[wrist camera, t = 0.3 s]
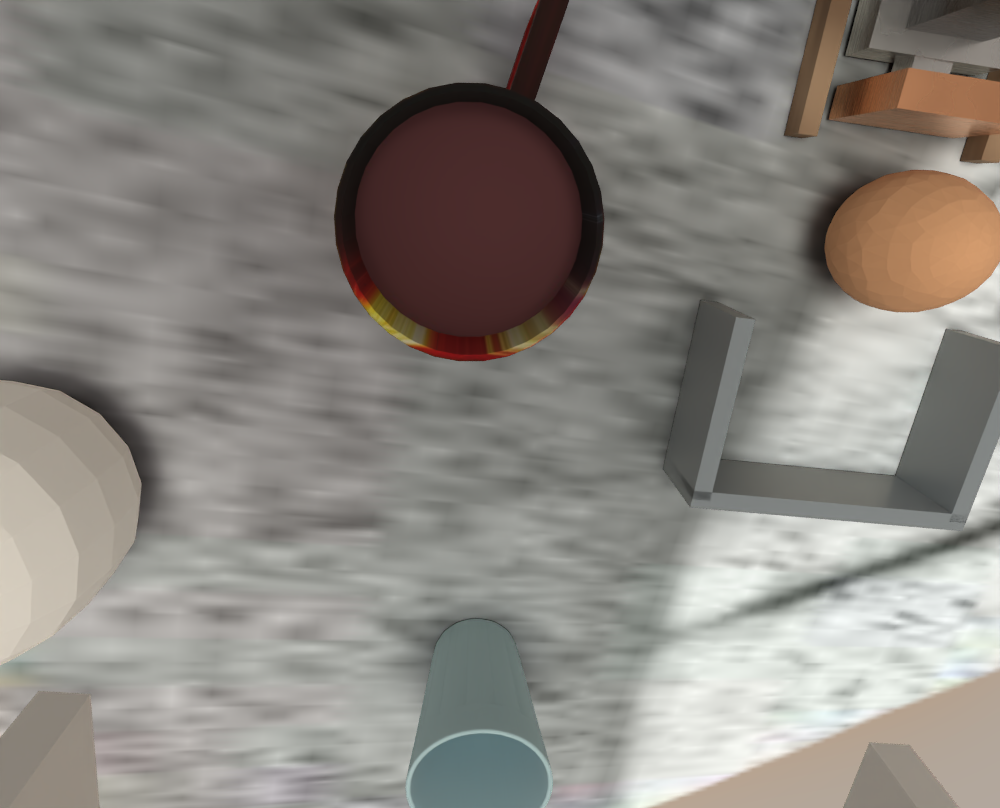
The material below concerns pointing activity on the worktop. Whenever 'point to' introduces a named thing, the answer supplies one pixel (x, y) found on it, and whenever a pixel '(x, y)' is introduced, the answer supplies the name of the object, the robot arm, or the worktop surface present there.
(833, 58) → the rail
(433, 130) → the mug
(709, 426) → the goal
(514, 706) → the cup
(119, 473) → the white vase
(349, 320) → the worktop surface
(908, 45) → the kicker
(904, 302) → the egg
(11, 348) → the worktop surface
